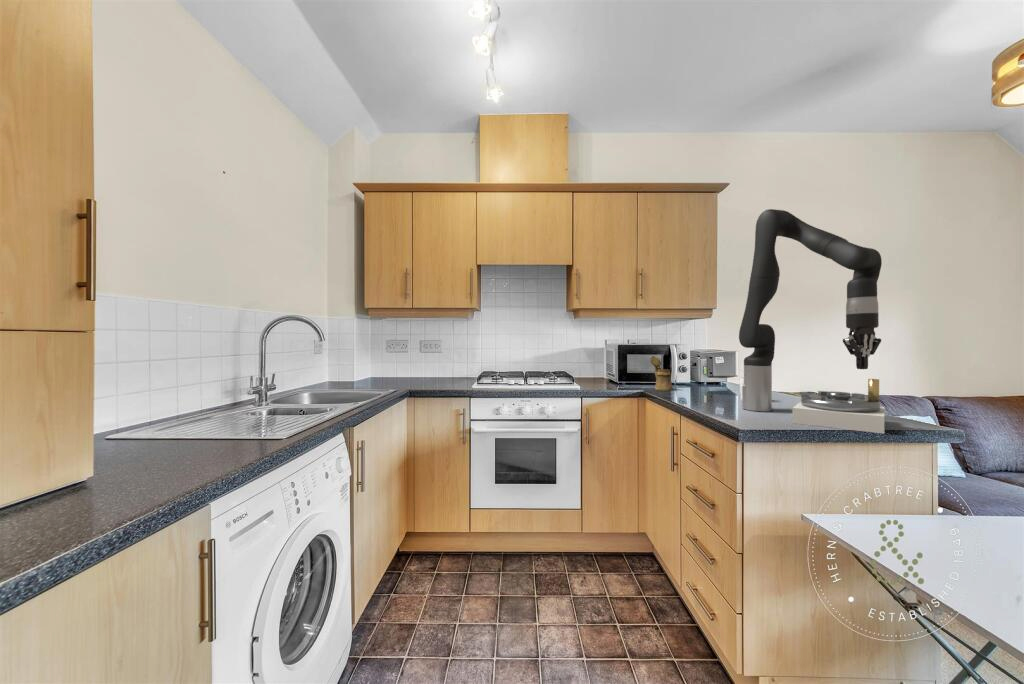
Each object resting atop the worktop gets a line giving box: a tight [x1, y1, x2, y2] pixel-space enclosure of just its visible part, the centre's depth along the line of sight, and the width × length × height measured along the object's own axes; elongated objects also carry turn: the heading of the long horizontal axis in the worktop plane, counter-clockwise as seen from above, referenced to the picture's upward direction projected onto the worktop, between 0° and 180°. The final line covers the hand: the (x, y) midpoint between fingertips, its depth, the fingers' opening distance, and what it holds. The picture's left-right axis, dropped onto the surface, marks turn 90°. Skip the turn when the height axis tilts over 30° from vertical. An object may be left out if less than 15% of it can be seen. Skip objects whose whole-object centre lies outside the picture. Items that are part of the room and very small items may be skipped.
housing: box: [792, 401, 885, 434], centre depth 131 cm, size 22×22×5 cm
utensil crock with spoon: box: [650, 355, 674, 392], centre depth 217 cm, size 9×14×18 cm, turn 19°
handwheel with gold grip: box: [800, 378, 881, 412], centre depth 131 cm, size 20×20×10 cm
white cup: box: [738, 376, 744, 401], centre depth 178 cm, size 8×8×10 cm
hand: (862, 368), depth 122 cm, fingers closed
